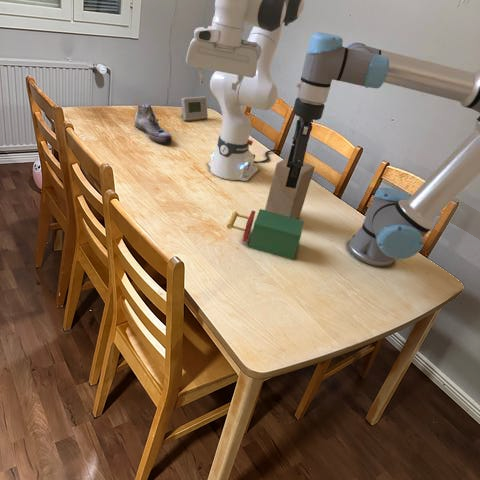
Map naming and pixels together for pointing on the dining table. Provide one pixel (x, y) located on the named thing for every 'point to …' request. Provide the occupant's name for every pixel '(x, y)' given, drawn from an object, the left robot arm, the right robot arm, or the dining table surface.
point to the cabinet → (276, 234)
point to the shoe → (151, 124)
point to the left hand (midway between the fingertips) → (217, 87)
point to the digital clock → (194, 108)
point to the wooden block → (288, 190)
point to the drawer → (248, 225)
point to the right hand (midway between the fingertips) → (290, 176)
